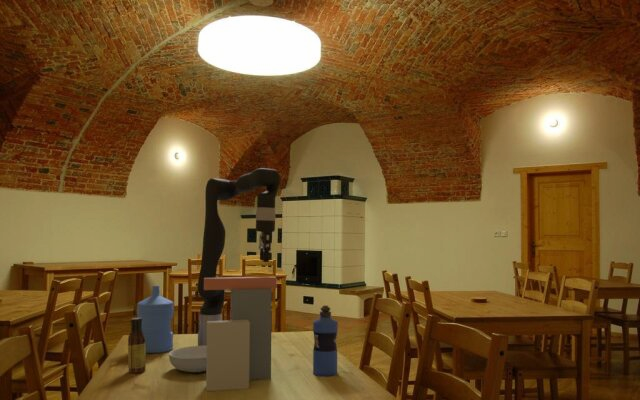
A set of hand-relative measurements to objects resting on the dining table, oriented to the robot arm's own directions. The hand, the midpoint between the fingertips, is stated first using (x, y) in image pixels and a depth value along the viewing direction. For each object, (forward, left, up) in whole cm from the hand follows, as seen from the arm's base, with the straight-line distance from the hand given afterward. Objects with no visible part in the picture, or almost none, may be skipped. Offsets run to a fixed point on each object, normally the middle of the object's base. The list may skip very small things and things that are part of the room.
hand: (264, 261), depth 211 cm
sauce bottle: (-40, -26, -42) cm, 63 cm away
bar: (-1, -15, -9) cm, 17 cm away
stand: (+2, -19, -41) cm, 45 cm away
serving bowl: (-22, -13, -42) cm, 49 cm away
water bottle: (+24, +5, -42) cm, 48 cm away
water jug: (-60, +4, -42) cm, 73 cm away
